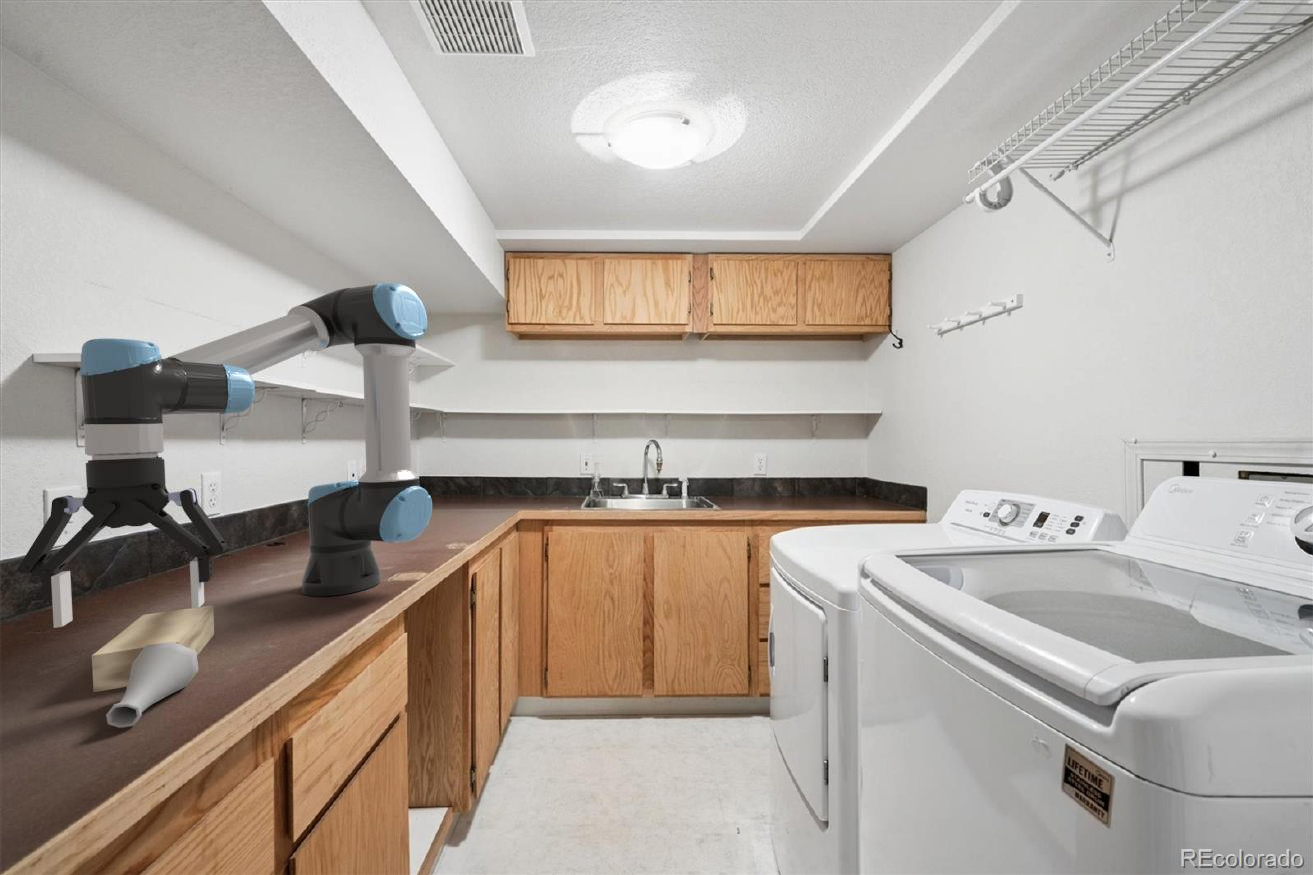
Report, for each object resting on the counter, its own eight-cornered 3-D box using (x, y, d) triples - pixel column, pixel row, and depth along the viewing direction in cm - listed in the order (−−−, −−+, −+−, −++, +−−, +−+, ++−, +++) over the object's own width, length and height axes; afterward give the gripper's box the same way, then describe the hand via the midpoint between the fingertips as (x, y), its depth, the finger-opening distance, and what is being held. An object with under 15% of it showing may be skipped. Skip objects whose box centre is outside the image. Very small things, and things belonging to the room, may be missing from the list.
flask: (206, 644, 74) (168, 692, 64) (192, 692, 74) (153, 745, 65) (140, 636, 71) (91, 685, 62) (127, 685, 72) (76, 741, 62)
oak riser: (214, 634, 93) (213, 605, 93) (180, 676, 77) (178, 641, 77) (144, 645, 89) (143, 614, 88) (93, 692, 73) (91, 655, 72)
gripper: (247, 451, 81) (253, 592, 82) (9, 460, 70) (17, 623, 70) (236, 453, 75) (242, 606, 75) (-30, 463, 63) (-20, 643, 64)
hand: (133, 614), depth 73 cm, fingers open, 13 cm apart
